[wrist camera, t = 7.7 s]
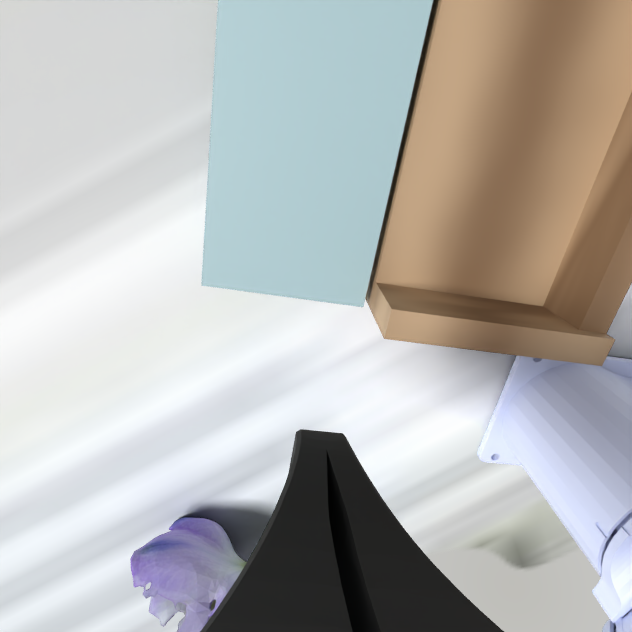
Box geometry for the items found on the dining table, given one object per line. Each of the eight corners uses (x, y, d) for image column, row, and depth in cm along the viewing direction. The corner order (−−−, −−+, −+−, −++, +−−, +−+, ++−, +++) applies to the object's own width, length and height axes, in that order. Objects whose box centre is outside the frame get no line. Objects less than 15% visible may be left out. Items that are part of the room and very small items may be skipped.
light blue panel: (478, -201, 12) (234, -274, 11) (363, 307, 18) (201, 285, 17) (462, -173, 13) (239, -236, 12) (359, 297, 19) (206, 276, 18)
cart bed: (674, -74, 16) (883, -191, 10) (523, 308, 22) (602, 366, 16) (451, -135, 14) (548, -302, 9) (359, 285, 21) (384, 338, 15)
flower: (293, 560, 19) (122, 758, 17) (348, 582, 25) (229, 729, 23) (204, 438, 25) (71, 571, 23) (267, 480, 31) (166, 588, 29)
